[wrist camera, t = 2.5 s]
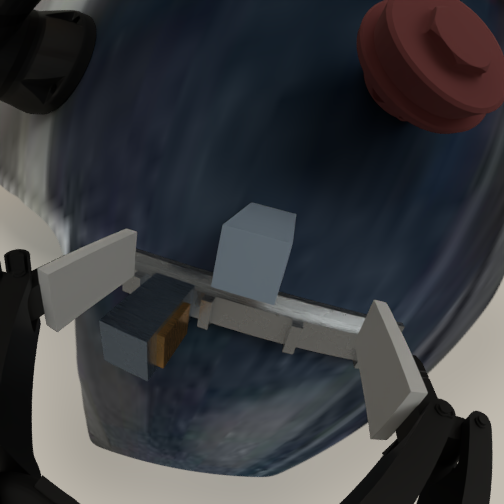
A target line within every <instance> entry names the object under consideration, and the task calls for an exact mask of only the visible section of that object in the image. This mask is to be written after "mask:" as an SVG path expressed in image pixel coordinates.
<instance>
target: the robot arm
mask: <svg viewBox="0 0 504 504" xmlns="http://www.w3.org/2000/svg"><path fill="white" fill-rule="evenodd" d="M40 1H41V0H0V100H1V101H3V102H5V103H7V104H9V105H11V106H13V107H15V108H17V109H19V110H21V111H23V112H25V113H29V114H47V113H50V112H52V111H54V110H55V109H56V108H58V107H59V106H60V105H61V104H62V103H63V102H64V101H65V100H66V99H67V98H68V97H69V95H70V94H71V93H72V92H73V90H74V89H75V87H76V86H77V84H78V83H79V81H80V79H81V78H82V76H83V74H84V72H85V70H86V68H87V66H88V63H89V61H90V58H91V55H92V52H93V49H94V45H95V40H96V26H95V23H94V21H93V19H92V18H91V17H90V16H88V15H86V14H84V13H81V12H79V11H75V10H56V11H37V10H33V9H34V8H35V7H36V5H37V4H38V3H39V2H40ZM136 239H137V232H136V231H133V230H129V229H124V230H122V231H119V232H117V233H115V234H112V235H110V236H107V237H105V238H103V239H100V240H98V241H96V242H93V243H91V244H89V245H87V246H84V247H82V248H80V249H78V250H75V251H73V252H71V253H69V254H67V255H64V256H62V257H60V258H57V259H56V260H53V261H51V262H49V263H47V264H45V265H43V266H41V267H39V268H37V269H35V270H33V271H31V262H30V254H29V252H28V251H26V250H22V249H16V250H12V251H9V252H7V253H6V254H5V255H4V258H5V265H6V272H7V273H6V272H3V271H2V269H1V263H0V504H80V503H78V502H77V501H76V500H75V499H74V498H72V497H71V496H69V495H68V494H66V493H65V492H64V491H62V490H61V489H60V488H58V487H57V486H56V485H54V484H53V483H52V482H50V481H49V480H48V479H47V478H45V477H44V476H42V477H41V473H40V470H39V467H38V464H37V462H36V460H35V458H34V454H33V446H32V445H33V444H32V389H33V375H34V364H35V356H36V349H37V342H38V335H39V330H40V325H41V323H40V316H42V315H43V314H45V319H46V324H47V325H48V326H49V327H50V328H52V329H53V330H55V331H56V332H58V331H60V330H61V329H62V328H63V327H65V326H66V325H67V324H69V323H70V322H71V321H72V320H74V319H75V318H77V317H78V316H79V315H81V314H82V313H83V312H85V311H86V310H87V309H89V308H90V307H91V306H93V305H94V304H96V303H97V302H98V301H100V300H101V299H102V298H104V297H105V296H107V295H108V294H109V293H111V292H112V291H114V290H115V289H116V288H118V287H119V286H121V285H122V284H123V283H125V282H126V281H128V280H129V279H131V278H132V277H133V276H134V270H135V252H136ZM354 345H355V350H356V355H357V359H358V364H359V370H360V375H361V380H362V386H363V391H364V397H365V404H366V410H367V416H368V423H369V431H370V438H371V439H379V440H387V439H388V438H389V437H390V436H391V435H392V434H393V433H394V432H395V431H396V435H397V439H396V440H395V441H394V442H393V443H392V444H391V445H390V446H389V447H388V448H387V449H386V450H385V451H384V452H383V453H382V454H383V456H382V458H381V459H380V460H379V461H378V463H377V464H376V465H375V466H374V467H373V469H372V470H371V471H370V472H369V473H368V474H367V476H366V477H365V478H364V479H363V480H362V481H361V482H360V483H359V484H358V485H357V486H356V488H355V489H354V490H353V491H352V492H351V493H350V494H349V495H348V496H347V497H346V498H345V499H344V500H343V501H342V502H341V503H340V504H414V502H415V501H416V499H417V498H418V496H419V498H418V501H417V504H489V501H490V492H491V480H492V429H491V423H490V421H489V419H488V417H487V416H486V415H485V414H484V413H481V412H479V411H473V412H472V413H471V414H470V415H469V417H467V418H466V419H464V418H461V417H458V416H455V411H454V409H453V407H452V406H451V405H450V404H449V403H448V402H447V401H444V400H442V399H438V398H437V396H436V393H435V391H434V388H433V386H432V384H431V381H430V379H428V375H427V373H426V370H425V368H424V366H423V364H422V362H421V361H420V360H419V359H418V358H417V357H416V356H415V355H412V354H411V352H410V350H409V348H408V345H407V343H406V341H405V339H404V337H403V335H402V333H401V331H400V329H399V327H398V325H397V323H396V321H395V319H394V317H393V315H392V313H391V311H390V309H389V307H388V305H387V303H385V302H381V301H377V300H374V301H373V303H372V305H371V307H370V310H369V312H368V314H367V316H366V318H365V320H364V322H363V325H362V327H361V329H360V331H359V333H358V335H357V337H356V339H355V341H354ZM458 461H459V462H458ZM457 462H458V464H457ZM419 494H420V495H419Z"/></svg>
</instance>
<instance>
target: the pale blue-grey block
mask: <svg viewBox="0 0 504 504" xmlns="http://www.w3.org/2000/svg"><path fill="white" fill-rule="evenodd" d="M295 221H296V214H293V213H290V212H286V211H282V210H279V209H275V208H271V207H267V206H264V205H260V204H256V203H250V204H249V205H248V206H246V207H245V208H244V209H242V210H241V211H240V212H238V213H237V214H236V215H235V216H233V217H232V218H231V219H229V220H228V221H227V222H226V223H224V224H223V226H222V231H221V236H220V241H219V246H218V252H217V257H216V262H215V268H214V273H213V278H212V284H211V287H213V288H216V289H220V290H223V291H226V292H230V293H233V294H236V295H240V296H243V297H246V298H250V299H253V300H257V301H260V302H264V303H267V304H271V305H274V304H275V301H276V298H277V295H278V291H279V288H280V285H281V282H282V278H283V275H284V271H285V268H286V265H287V261H288V258H289V254H290V251H291V248H292V244H293V237H294V229H295Z"/></svg>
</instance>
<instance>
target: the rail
mask: <svg viewBox="0 0 504 504" xmlns="http://www.w3.org/2000/svg"><path fill="white" fill-rule="evenodd" d="M212 278H213V272H210V271H206V270H203V269H200V268H196V267H193V266H190V265H187V264H183V263H180V262H177V261H174V260H171V259H167V258H164V257H161V256H158V255H155V254H152V253H149V252H146V251H142V250H139V249H136V252H135V270H134V276H133V277H132V278H131V279H129V280H128V281H126V282H125V283H123V291H125V292H127V293H130V295H128V296H127V297H126V298H125V299H124V300H122V301H121V302H120V303H119V304H118V305H116V306H115V307H114V308H113V309H112V310H111V311H109V312H108V313H107V314H106V315H105V316H103V317H102V318H101V319H100V320H99V325H100V333H101V341H102V348H103V355H104V360H105V361H107V362H109V363H111V364H113V365H115V366H117V367H119V368H121V369H123V370H125V371H127V372H129V373H131V374H133V375H135V376H137V377H140V378H142V379H144V380H146V381H148V380H149V379H150V378H151V376H152V375H153V373H154V372H155V370H156V369H157V367H158V366H159V367H161V368H164V367H165V365H166V364H167V362H168V361H169V359H170V358H171V356H172V355H173V353H174V352H175V350H176V349H177V347H178V346H179V344H180V343H181V341H182V340H183V338H184V337H185V335H186V334H187V328H188V323H189V321H190V319H191V316H192V317H195V318H198V324H197V327H200V328H203V329H206V330H207V329H208V328H209V326H210V324H211V323H213V324H216V325H219V326H222V327H225V328H229V329H232V330H235V331H238V332H242V333H245V334H249V335H252V336H256V337H259V338H263V339H266V340H270V341H274V342H278V343H281V344H283V350H282V352H285V353H289V354H293V353H294V350H295V348H296V347H297V348H301V349H305V350H309V351H314V352H318V353H322V354H327V355H331V356H336V357H341V358H346V359H351V360H353V364H354V368H358V369H359V364H358V359H357V355H356V350H355V345H354V341H355V339H356V337H357V335H358V333H359V331H360V329H361V327H362V325H363V322H364V320H365V318H366V316H367V314H363V313H359V312H355V311H351V310H347V309H343V308H339V307H335V306H331V305H327V304H324V303H320V302H316V301H312V300H308V299H305V298H301V297H297V296H294V295H290V294H286V293H283V292H279V291H278V295H277V298H276V301H275V304H274V305H271V304H267V303H264V302H260V301H257V300H253V299H250V298H246V297H243V296H240V295H236V294H233V293H230V292H226V291H223V290H220V289H216V288H213V287H211V284H212ZM396 323H397V325H398V327H399V329H400V331H401V333H402V331H403V329H404V325H403V323H400V322H396Z"/></svg>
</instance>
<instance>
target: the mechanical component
mask: <svg viewBox="0 0 504 504" xmlns="http://www.w3.org/2000/svg"><path fill="white" fill-rule="evenodd" d="M357 52H358V57H359V61H360V64H361V67H362V69H363V71H364V80H365V84H366V87H367V89H368V91H369V93H370V95H371V96H372V98H373V99H374V101H375V102H376V103H377V104H378V105H379V106H380V107H381V108H382V109H383V110H384V111H386V112H387V113H389V114H390V115H392V116H394V117H396V118H397V119H399V120H400V121H408V122H410V123H411V124H413V125H415V126H417V127H419V128H421V129H424V130H427V131H430V132H435V133H440V134H450V133H457V132H463V131H467V130H470V129H471V128H473V127H475V126H476V125H478V124H479V123H480V122H481V121H482V119H483V118H484V117H485V115H486V113H490V112H492V111H495V110H496V109H497V108H499V107H500V106H501V105H502V103H503V102H504V56H503V53H502V50H501V48H500V46H499V44H498V42H497V40H496V39H495V37H494V36H493V34H492V33H491V31H490V30H489V28H488V27H487V26H486V24H485V23H484V22H483V21H482V20H481V19H480V18H479V17H478V16H477V15H476V14H475V13H474V12H473V11H472V10H471V9H470V8H469V7H467V6H466V5H465V4H464V3H462V2H461V1H459V0H385V1H382V2H380V3H377V4H376V5H374V6H373V7H372V8H370V10H369V11H368V12H367V13H366V15H365V16H364V18H363V20H362V23H361V25H360V28H359V31H358V35H357Z"/></svg>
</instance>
